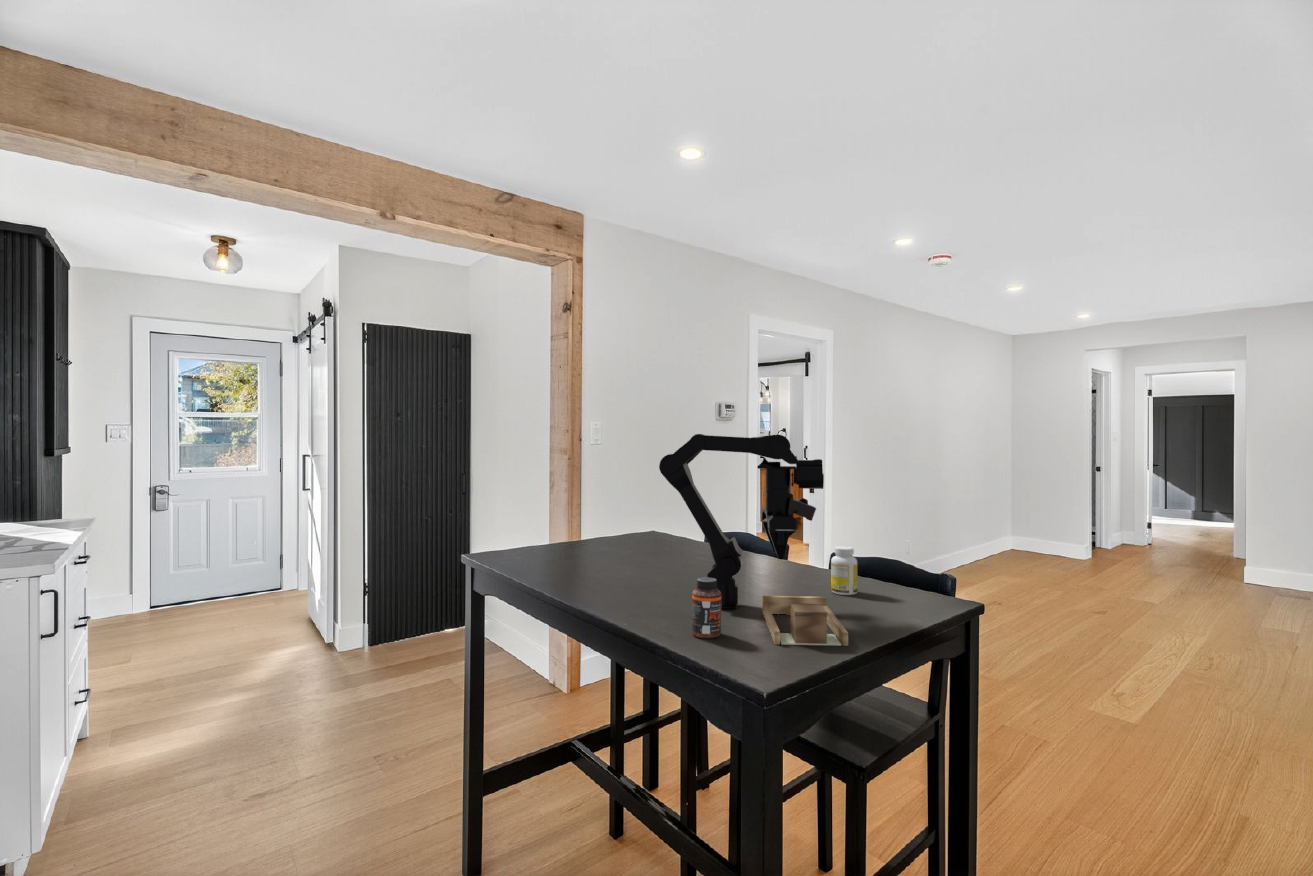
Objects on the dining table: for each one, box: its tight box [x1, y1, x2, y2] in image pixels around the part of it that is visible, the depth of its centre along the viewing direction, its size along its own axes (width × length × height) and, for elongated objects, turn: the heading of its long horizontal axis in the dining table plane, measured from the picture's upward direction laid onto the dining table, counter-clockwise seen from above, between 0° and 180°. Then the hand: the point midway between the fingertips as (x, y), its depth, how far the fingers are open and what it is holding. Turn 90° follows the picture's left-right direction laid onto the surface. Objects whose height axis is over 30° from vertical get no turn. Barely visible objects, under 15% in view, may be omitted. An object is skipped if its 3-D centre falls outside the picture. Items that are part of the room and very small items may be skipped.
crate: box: [790, 604, 828, 644], centre depth 122 cm, size 6×6×6 cm
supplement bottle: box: [691, 576, 722, 640], centre depth 125 cm, size 6×6×11 cm
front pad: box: [780, 632, 842, 647], centre depth 122 cm, size 11×6×1 cm, turn 86°
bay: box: [762, 595, 849, 647], centre depth 130 cm, size 14×21×4 cm, turn 176°
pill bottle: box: [830, 545, 859, 596], centre depth 159 cm, size 6×6×12 cm
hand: (778, 555), depth 144 cm, fingers open, 9 cm apart
